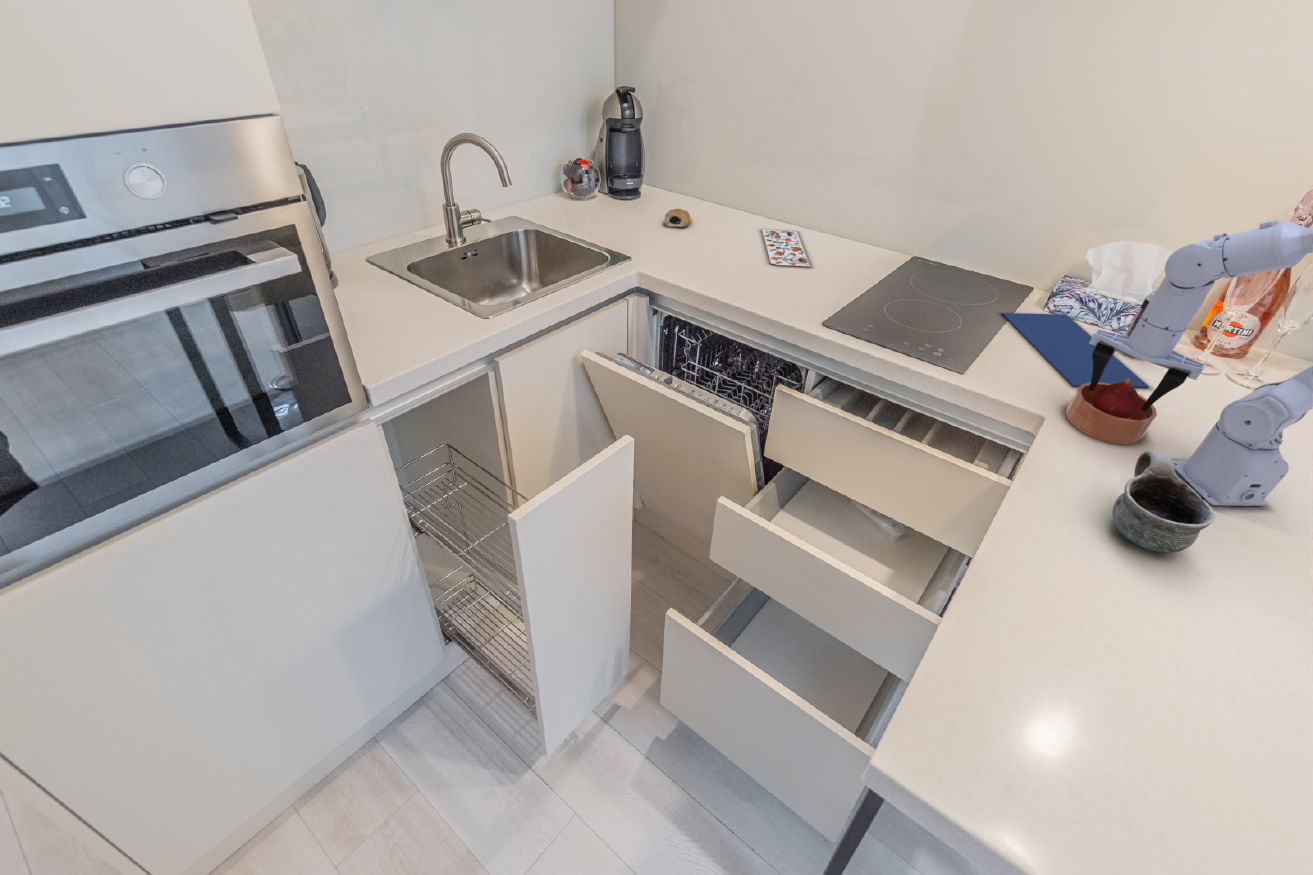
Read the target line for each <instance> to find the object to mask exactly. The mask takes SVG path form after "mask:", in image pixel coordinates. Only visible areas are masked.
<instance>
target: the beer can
mask: <svg viewBox="0 0 1313 875" xmlns="http://www.w3.org/2000/svg"><path fill="white" fill-rule="evenodd" d="M1155 292H1156V291H1152V292H1150V293H1149V294H1147V295H1146V296H1145V298H1144V300H1143V302H1142V303H1141V305H1140V307H1139V309H1138V311H1137V313H1136V314H1135V316H1134V318H1133V320H1132V321H1131V323H1130V325H1129V327H1128V329H1126V332H1125V333H1124V335H1125V336H1130V335H1131V334H1132V332H1133V330H1134V329H1135V327H1136V325H1137V323H1138V322H1139V320H1140V318H1141V316H1142V315H1143V313H1144V311H1145V309H1146V308H1147V306H1148V304H1149V302H1150V301H1151V299H1152V297H1153V296H1154V294H1155Z"/></svg>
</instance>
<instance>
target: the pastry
mask: <svg viewBox="0 0 1313 875" xmlns="http://www.w3.org/2000/svg"><path fill="white" fill-rule="evenodd" d="M690 221H691V215H690V213H689V211H687V210H685V209H682V208H674V209H670V210H668V211H667V212H666V214H665V215H664V220H663V224H664V225H665V227H669V228H685V227H687V226H689V224H690Z"/></svg>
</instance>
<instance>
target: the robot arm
mask: <svg viewBox="0 0 1313 875" xmlns="http://www.w3.org/2000/svg"><path fill="white" fill-rule="evenodd" d="M1312 253H1313V226H1309V227H1305V226H1302V225H1300V224H1298V223H1296V222H1293V221H1291V220H1290V221H1289V220H1287V221H1284V222H1283V221H1282V222H1279V220H1278V219H1271V220H1267V221H1264V222H1261V223H1259V227H1258V228H1254V229H1249V230H1245V231H1240V232H1236V233H1232V234H1228V233H1227V232H1221V233H1217V234H1214V235H1213V238H1211V239H1210V238H1208V239H1204V240H1199V241H1197V242H1194V243H1190V244H1188V245H1184V246H1182V247H1180V248H1179V249H1176V250H1175V251H1174V252H1173V253H1171V255H1169V256H1168V258H1167V260H1166V262H1165V265H1164V274H1165V276H1164V278H1163V280H1162V281H1161V282H1160V284H1159V286H1158V287H1157V289H1156V290H1155V291H1154V292H1155V294H1154V296H1153V297H1152V299H1151V301H1150V302H1149V304H1148V306H1147V308H1146V309H1145V311H1144V313H1143V315H1142V316H1141V318H1140V320H1139V322H1138V323H1137V325H1136V327H1135V329H1134V330H1133V332H1132V334H1131V335H1130V336H1125V334H1122V333H1121V334H1119V333H1115V332H1110V331H1106V330H1103V329H1099V328H1097V329H1096V330H1095V332H1094V333H1093V335H1091V337H1092V338H1091V340H1090V342H1089V344H1092V345H1095V346H1096V345H1097V346H1096V347H1095V349H1094V350H1093V353H1092V359H1093V373H1092V379H1091V383H1090V386H1089V390H1091V391H1093V390H1094V389H1095V387H1096V386H1097V384H1098V382H1099V381H1100V379H1101V376H1102V374H1103V372H1104V370H1105V368H1106V366H1107V364H1108V363H1109V361H1110V359H1111V357H1112V356H1114V355H1115V352H1118V353H1121V354H1124V355H1127V356H1130V357H1133V358H1135V359H1138V360H1141V361H1144V362H1146V363H1147V362H1148V363H1150V364H1153V365H1155V366H1159V367H1162V368H1164V369H1167V371H1166V372H1165V373H1164V375H1163V377H1162V379H1161V380H1160V382H1159V384H1158V385H1157V386H1156V388H1155V389H1154V390H1153V391H1152V393H1151V394H1150V395H1149V396H1148V398H1146V399H1147V401H1146V402H1145V404H1144V406H1143V407H1142V409H1141V410H1144V411H1147V410H1148V408H1149V407H1150V406H1151V405H1154V403H1156V402H1157V401H1158V400H1160V399H1161V398H1162V397H1163V396H1166V394H1168V393H1170V392H1171V391H1173V390H1175V389H1178V388H1179V387H1180V386H1182V385H1183V384H1184V383H1185V381H1186V380H1187V378H1188V379H1190V380H1194V381H1197V380H1198V378H1199V377H1200V375H1201V374H1202V372H1203V371H1204V369H1205V367H1206V363H1203V362H1200V361H1197V360H1195V359H1193V358H1191V357H1189V356H1186V355H1184V354H1182V353H1180V352H1178V351H1175V350H1174V349H1175V348H1176V346H1177V345H1178V343H1179V342H1180V340H1181V339H1182V337H1183V335H1184V334H1185V332H1186V331H1187V329H1188V328H1189V326H1190V325H1191V323H1192V321H1193V320H1194V318H1195V316H1196V315H1197V314H1198V312H1199V310H1200V309H1201V307H1202V306H1203V304H1204V302H1205V300H1206V298H1207V296H1208V295H1209V293H1210V291H1211V290H1212V288H1213V287H1214V285H1215V284H1216V281H1217V280H1220V279H1222V278H1224V279H1235V278H1240V277H1245V276H1251V275H1257V274H1261V273H1263V274H1264V273H1267V272H1272V271H1278V270H1284V269H1285V270H1286V269H1289V268H1294V267H1296V266H1297V265H1298V264H1299V263H1300V262H1301V261H1302V260H1303V259H1304V258H1305V257H1306V256H1307V255H1309V254H1312ZM1311 410H1313V365H1311V366H1308V367H1307V368H1305V369H1304V370H1302V371H1300V372H1298V373H1296V374H1293V376H1290V378H1287V379H1285V380H1282V381H1276V382H1270V383H1268V382H1267V383H1264V384H1262V385H1259V386H1258V387H1256V388H1255V389H1253V390H1252V391H1251V392H1250V393H1248V394H1246V395H1244V396H1243V397H1241V398H1239V399H1237V400H1234V401H1232V402H1230V403H1228V404H1227V405H1226V406H1224V408H1223V409H1222V411H1221V412H1220V414H1219V418H1218V419H1217V421H1216V422H1215V424H1214V425H1213V426H1212V428H1211V429H1210V430H1209V431H1208V433H1207V434H1206V436H1205V437H1204V439H1203V440H1202V441H1201V442H1200V444H1199V445H1198V446H1197V448H1196V449H1195V451H1194V452H1193V454H1192V455H1191V456H1190V458H1189V459H1188V460H1184V459H1183V460H1181V459H1172V461H1173V465H1174V470H1175V472H1177V473H1178V474H1179V475H1180V476H1181V477H1182V478H1183V479H1184V480H1185V481H1186V482H1187V483H1189V486H1190V487H1191V488H1192V489H1193V490H1194V491H1195V492H1196V493H1197V494H1198V495H1199V496H1201V497H1203V499H1205V501H1206V502H1207V503H1208V504H1209V505H1210V506H1211V505H1212V506H1229V507H1230V506H1235V507H1237V506H1238V507H1239V506H1242V507H1264V506H1265V505H1266V502H1265V501H1264V500H1266V498H1267V497H1268V496H1269V495H1270V494H1271V492H1272V491H1274V489H1275V488H1276V487H1277V485H1278V484H1279V483H1280V482H1281V481H1282V480H1283V479H1284V478H1285V477H1286V475H1287V474H1288V472H1289V469H1290V467H1289V464H1288V462H1287V461H1286V460H1285V458H1284V457H1283V456H1282V453H1281V451H1280V446H1281V445H1282V444H1283V437H1284V436H1283V435H1284V434H1283V433H1284V430H1285V429H1287V428H1289V427H1290V426H1292V425H1295V424H1296V423H1298V422H1300V421H1301V420H1302V419H1303V418H1304V417H1305V416H1306V415H1307V413H1308V412H1310V411H1311Z"/></svg>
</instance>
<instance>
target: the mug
mask: <svg viewBox="0 0 1313 875" xmlns="http://www.w3.org/2000/svg"><path fill="white" fill-rule="evenodd" d="M1172 460H1173V459H1172V457H1171V456H1170V454H1168V453H1167V452H1165V451H1162V450H1157V449H1149V450H1146V451H1143V452H1142V453H1141V454H1140V455H1139V457H1138V458H1137V460H1136V463H1135V466H1134V472H1133V477H1132V478H1129V480H1127V481H1126V482H1125V485H1124V490H1123V492H1122V493H1121V494H1120V495H1119V496H1118V497H1117V499H1116V500H1115V502H1114V504H1113V507H1112V512H1111V514H1112V520H1113V523H1114V525H1115V526H1116V528H1117V530H1118V531H1119V532H1120V533H1121V535H1123V536H1124V537H1125V538H1126V539H1127V540H1128V541H1130V542H1132V543H1133V544H1135V545H1136V546H1138V547H1141V548H1142V549H1145V550H1148V551H1152V552H1157V553H1178V552H1182V551H1184V550H1186V549H1189V548H1190V547H1191V546H1192V545H1193V544H1194V543H1195V542H1196V540H1197V539H1198V538H1199V536H1200V532H1201V531H1202V530H1204V529H1206V528H1207V527H1209V526H1210V525H1211V524H1213V522H1214V521H1215V518H1216V513H1215V510H1214V509H1213V508H1212V506H1211V504H1210V503H1209V502H1208V501H1207V500H1204V499H1202V498H1201V495H1200V494H1199V493H1198V492H1197V491H1196V490H1195V489H1194V488H1193V487H1192V486H1191V485H1188V484H1187V483H1186V482H1185V481H1183V480H1182V479H1181V478H1179V477H1178V475H1177V473H1176V470H1175V469H1174V465H1173V461H1172Z"/></svg>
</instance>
